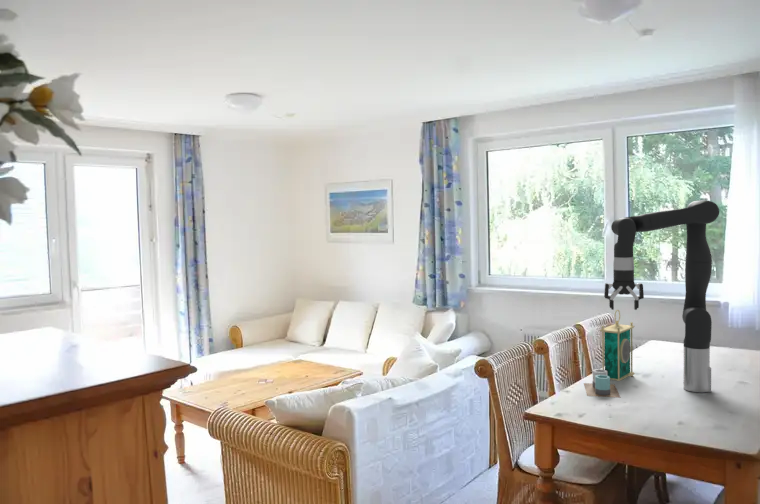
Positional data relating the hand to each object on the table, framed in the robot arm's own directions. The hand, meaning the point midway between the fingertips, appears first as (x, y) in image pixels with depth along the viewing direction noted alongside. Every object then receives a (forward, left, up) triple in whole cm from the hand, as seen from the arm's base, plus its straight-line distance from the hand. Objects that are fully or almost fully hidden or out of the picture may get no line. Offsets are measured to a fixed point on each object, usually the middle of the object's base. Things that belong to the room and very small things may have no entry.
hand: (623, 309), depth 235 cm
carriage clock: (0, -20, -33) cm, 39 cm away
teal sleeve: (+9, +8, -32) cm, 34 cm away
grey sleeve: (+9, 0, -32) cm, 33 cm away
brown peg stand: (+9, +4, -33) cm, 35 cm away
